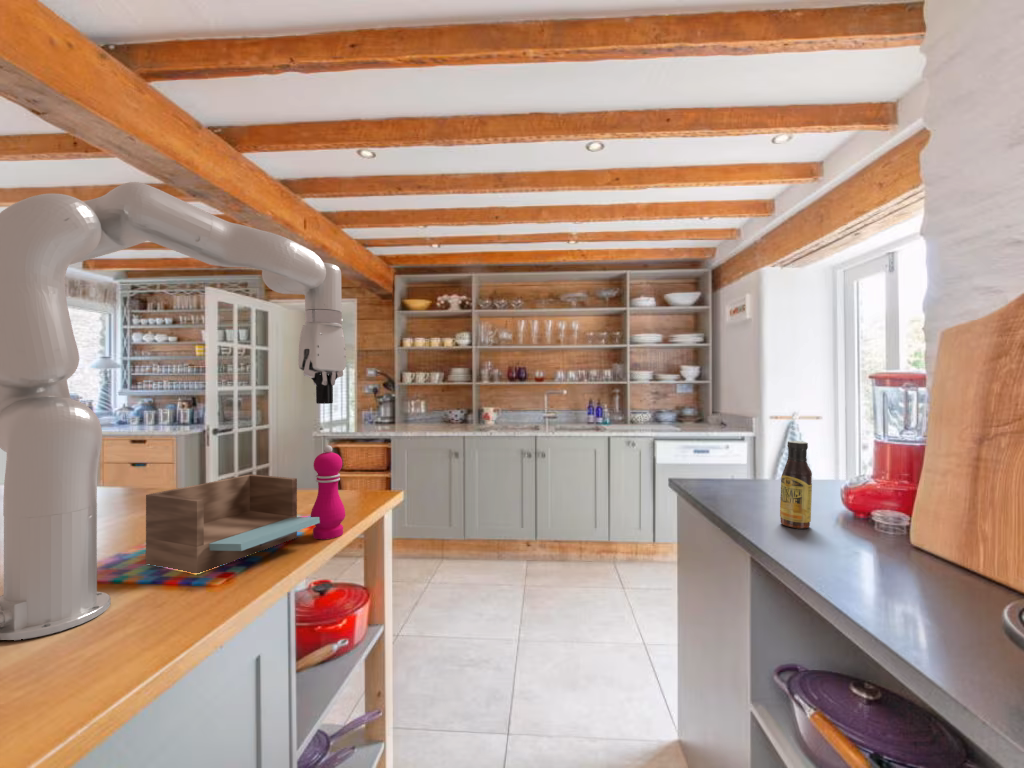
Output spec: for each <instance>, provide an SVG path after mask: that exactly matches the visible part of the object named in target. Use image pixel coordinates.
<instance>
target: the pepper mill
mask: <svg viewBox="0 0 1024 768" xmlns="http://www.w3.org/2000/svg"><path fill="white" fill-rule="evenodd" d="M323 451H324V452H322V453H320V454H318V455H317V456H316V457H315V458H314V462H313V469H314V471H315V473H316V476H315V477H316V480H315V481H316V483H317V484H318V485H317V488H318V489H317V496H316V499H315V502H314V504H313V506H312V508H311V512H310V517H319V520H320V523H318V524H315V525H314V527H313V529H312V537H313V538H314V539H316V540H331V538H332V539H336V538H339V537H341V536H342V535H344V526H343V524H342V522H343V521H344V520H345V518H346V510H345V505H344V503H343V501H342V498H341V496H340V494H339V481H340V480H341V478H340V476H341V473H339V472H340V471H341V469H342V467H343V459H342V456H340V455H339V454H338V453H335V452H333V447H332V445H329V444H328V445H325V446H324V447H323ZM335 537H336V538H335Z"/></svg>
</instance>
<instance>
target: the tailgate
mask: <svg viewBox="0 0 1024 768" xmlns="http://www.w3.org/2000/svg"><path fill="white" fill-rule="evenodd" d="M318 523H320V520H319V517H311V516H310V517H309V516H308V517H305V516H304V517H301V516H300V517H299V516H297V517H292V518H288V519H284V520H281V521H278V522H275V523H272V524H269V525H266V526H263V527H259V528H256V529H253V530H250V531H247V532H244V533H241V534H238V535H235V536H231V537H228V538H225V539H222V540H219V541H216V542H213V543H210V544H209V548H210V550H215V551H243V550H246V549H248V548H251V547H254V546H257V545H260V546H262V545H265V544H267V543H270V542H273V541H276V540H278V539H281V538H284V537H287V536H289V535H292V534H295V533H297V534H298V531H301V530H304V529H306V528H309V527H312V526H315V524H318Z"/></svg>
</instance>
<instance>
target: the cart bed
mask: <svg viewBox="0 0 1024 768" xmlns="http://www.w3.org/2000/svg"><path fill="white" fill-rule="evenodd" d="M292 517H298V478H296V477H283V476H273V475H262V474H251V473H250V474H246V475H241V476H234V477H229V478H225V479H221V480H214V481H209V482H204V483H201V484H200V483H199V484H193V485H190V486H189V485H188V486H184V487H179V488H178V487H177V488H173V489H169V490H164V491H158V492H155V493H154V492H153V493H147V494H145V565H146V564H150V565H156V566H163V567H168V568H173V569H178V570H183V571H187V572H191V573H200V572H203V571H206V570H209V569H212V568H214V567H217V566H220V565H223V564H226V563H229V562H232V561H234V560H237V559H239V558H242V557H245V556H247V555H250V554H253V553H255V552H258V551H261V552H263V551H266V550H269V549H271V548H274V547H276V546H275V545H277V546H279V545H282V544H284V543H283V542H285V543H287V542H289V540H290V541H292V540H291V539H293V540H295V539H297V538H298V532H297V533H295V534H292V535H289V536H287V537H284V538H281V539H278V540H276V541H273V542H270V543H267V544H265V545H262V546H260V545H257V546H254V547H251V548H248V549H246V550H243V551H215V550H210V548H209V544H210V543H213V542H216V541H219V540H222V539H225V538H228V537H231V536H235V535H238V534H241V533H244V532H247V531H250V530H253V529H256V528H259V527H263V526H266V525H269V524H272V523H275V522H278V521H281V520H284V519H288V518H292ZM294 538H295V539H294ZM286 541H287V542H286ZM281 543H282V544H281ZM278 544H279V545H278ZM273 546H274V547H273ZM270 547H271V548H270ZM268 548H269V549H268ZM265 549H266V550H265ZM262 550H263V551H262ZM258 553H259V552H258ZM255 554H256V553H255ZM253 555H254V554H253ZM250 556H251V555H250ZM245 558H246V557H245ZM242 559H243V558H242ZM237 561H238V560H237ZM234 562H235V561H234ZM232 563H233V562H232ZM229 564H230V563H229ZM150 565H149V566H150ZM226 565H227V564H226Z"/></svg>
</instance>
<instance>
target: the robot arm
mask: <svg viewBox="0 0 1024 768" xmlns="http://www.w3.org/2000/svg"><path fill="white" fill-rule="evenodd" d="M145 242H151V243H153V244H156V245H158V246H161V247H163V248H167V249H169V250H172V251H175V252H176V253H180V254H182V255H185V256H188V257H190V258H193V260H197V261H200V262H201V263H202V262H203V263H205V264H207V265H211V266H216V267H223V268H248V269H255V270H260V271H261V277H262V281H263V283H264V284H265V285H266V286H267V288H269V290H272V291H273V292H275V293H279V294H283V295H302V296H303V295H304V318H305V319H304V322H305V323H304V324H302V327H301V330H300V337H299V344H298V359H297V360H298V364H297V365H298V368H299V370H301V371H302V372H303V375H304V377H307V378H310V379H311V380H312V382H313V385H314V386H315V395H316V396H315V397H316V398H315V399H316V400H315V401H316V404H318V405H319V404H320V405H321V404H323V405H327V404H328V405H329V404H333V403H334V395H333V394H334V386H335V384H336V380H337V379H338V378H341V377H343V376H344V371H345V369H346V366H347V352H346V350H347V349H346V340H345V335H344V329H343V317H342V316H343V315H342V313H343V311H342V310H343V309H342V305H343V304H342V300H343V299H342V271H341V270H342V269H340V267H339V266H338V265H336V264H333V263H331V262H324V261H323V260H322V258H321V257H320V256H319V255H318V254H317V253H316V252H314V251H313V250H311V249H310V248H308V247H306V246H305V245H302V244H300V243H298V242H296V241H294V240H292V239H290V238H288V237H285V236H283V235H280V234H277V233H274V232H270V231H266V230H262V229H259V228H254V227H250V226H248V225H243V224H240V223H234V222H230V221H227V220H225V219H223V218H220V217H218V216H216V215H214V214H212V213H210V212H207V211H205V210H203V209H201V208H199V207H197V206H195V205H193V204H191V203H188V202H186V201H185V200H183V199H180V198H179V197H176V196H174V195H172V194H169V193H168V192H165V191H163V190H161V189H159V188H157V187H154V186H152V185H149V184H146V183H143V182H139V181H130V182H125V183H122V184H119V185H118V186H116V187H115V188H113V189H111V190H110V191H108V192H107V193H106V194H104V195H101V196H99V197H96V198H92V199H88V200H84V201H83V200H81V199H79V198H77V197H75V196H71V195H68V194H65V193H42V194H38V195H37V194H36V195H32V196H30V197H27V198H25V199H24V198H23V199H22V200H19V201H17V202H15V203H13V204H11V205H9V206H8V207H6V208H5V209H3V210H2V211H0V450H2V451H3V452H5V453H6V463H5V471H4V472H5V473H4V483H3V498H2V499H3V501H2V502H3V505H2V506H3V507H2V508H3V509H2V511H3V512H2V515H3V516H2V517H3V595H0V640H14V641H22V640H21V639H23V640H28V639H34V638H38V637H39V638H40V637H43V636H48V635H52V634H55V633H60V632H63V631H65V630H69V629H72V628H74V627H76V626H79V625H80V626H81V625H83V624H86V623H87V622H89V621H91V620H94V619H95V618H96V617H98V616H100V615H102V614H103V613H105V612H106V611H107V610H108V609H109V607H110V606H111V596H110V595H109V593H108V594H107V593H106V592H103V591H98V500H97V499H98V474H99V473H98V472H99V471H98V470H99V464H100V457H101V451H102V443H103V430H102V425H101V422H100V419H99V417H98V416H97V415H96V413H95V412H94V411H93V409H91V408H90V407H89V406H88V405H86V404H84V403H83V402H80V401H78V400H75V399H73V398H71V395H70V390H69V385H68V381H67V380H68V379H70V378H71V377H72V376H73V375H74V374H75V373H76V371H77V369H78V368H79V363H80V354H79V349H78V348H79V347H78V345H77V342H76V339H75V335H74V331H73V325H72V321H71V315H70V312H69V307H68V301H67V293H66V283H65V282H66V281H65V280H66V274H67V270H68V268H69V266H70V265H75V264H77V263H81V262H84V261H87V260H91V259H95V258H100V257H103V256H106V255H109V254H113V253H117V252H120V251H122V250H126V249H129V248H131V247H134V246H137V245H140V244H143V243H145Z"/></svg>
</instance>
